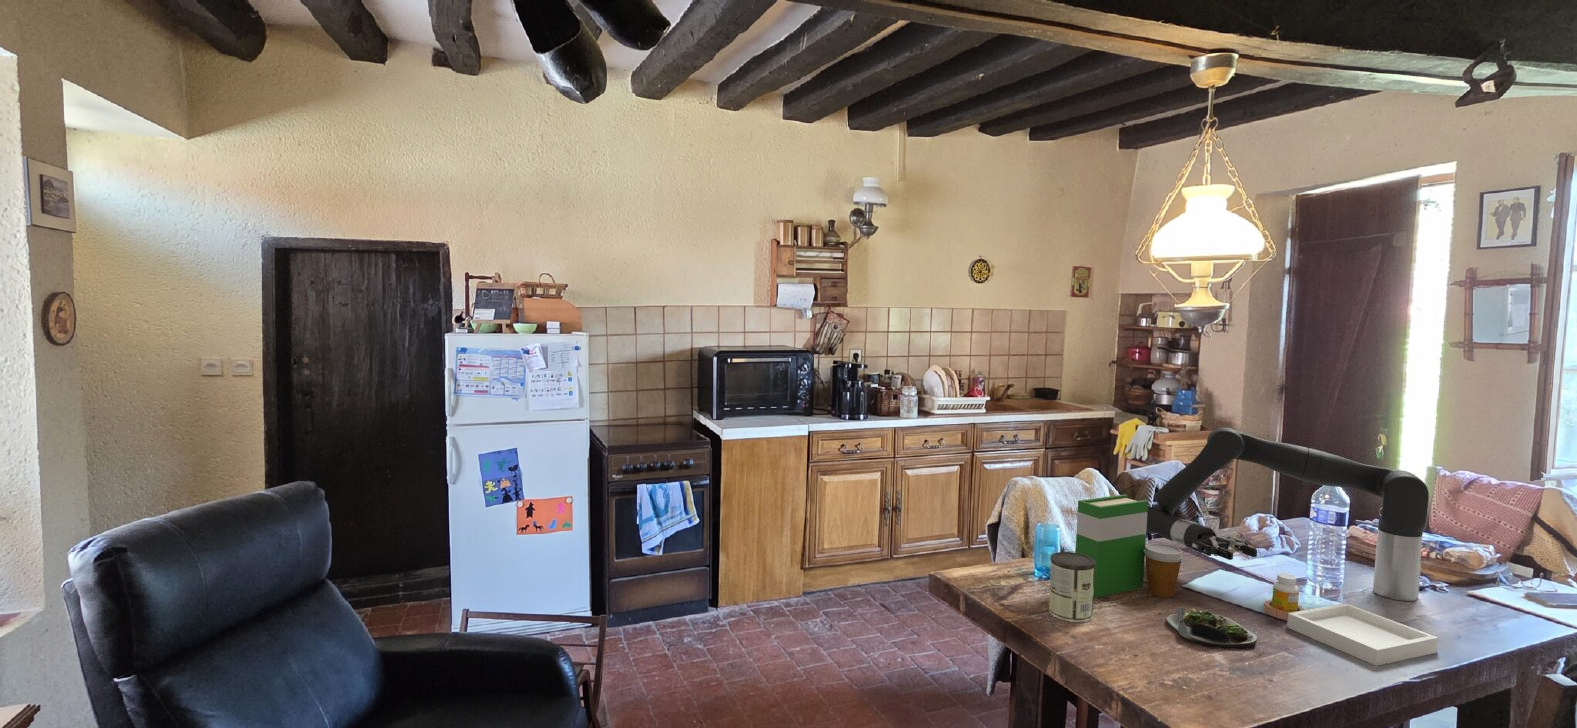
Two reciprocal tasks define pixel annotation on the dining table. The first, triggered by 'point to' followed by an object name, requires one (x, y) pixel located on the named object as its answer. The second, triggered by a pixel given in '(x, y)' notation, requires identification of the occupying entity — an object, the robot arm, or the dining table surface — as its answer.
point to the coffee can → (1071, 587)
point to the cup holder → (1276, 612)
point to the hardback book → (1113, 541)
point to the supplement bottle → (1285, 593)
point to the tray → (1363, 633)
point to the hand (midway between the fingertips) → (1244, 554)
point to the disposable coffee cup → (1162, 568)
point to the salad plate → (1211, 630)
